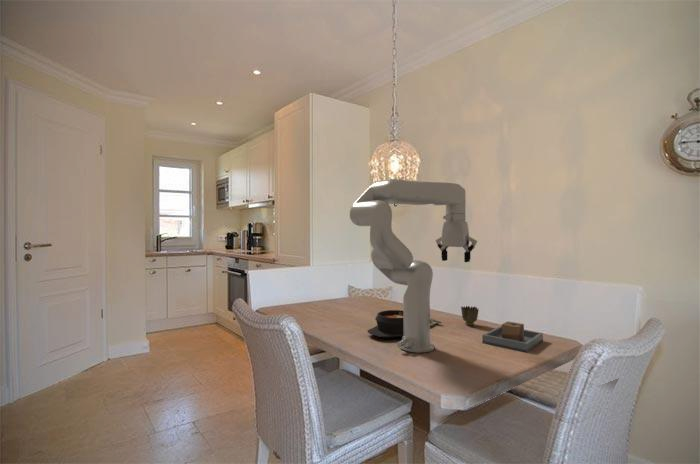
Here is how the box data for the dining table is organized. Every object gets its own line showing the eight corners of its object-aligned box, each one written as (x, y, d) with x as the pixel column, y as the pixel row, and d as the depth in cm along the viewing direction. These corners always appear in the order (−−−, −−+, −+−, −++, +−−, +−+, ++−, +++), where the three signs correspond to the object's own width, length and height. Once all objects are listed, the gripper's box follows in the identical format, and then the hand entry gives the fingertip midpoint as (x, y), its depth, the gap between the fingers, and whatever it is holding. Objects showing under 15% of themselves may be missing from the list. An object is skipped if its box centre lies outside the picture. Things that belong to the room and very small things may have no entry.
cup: (480, 327, 160) (480, 309, 160) (464, 327, 160) (464, 309, 160) (475, 323, 167) (475, 305, 167) (459, 323, 167) (459, 305, 167)
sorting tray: (527, 352, 127) (527, 343, 127) (482, 342, 138) (482, 334, 138) (542, 341, 140) (542, 333, 140) (500, 333, 151) (500, 325, 151)
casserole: (402, 324, 165) (402, 306, 165) (433, 334, 150) (433, 313, 150) (357, 334, 150) (357, 313, 150) (387, 345, 135) (387, 323, 135)
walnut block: (518, 343, 135) (518, 326, 135) (501, 339, 139) (501, 324, 139) (523, 339, 139) (523, 323, 139) (507, 336, 143) (507, 321, 143)
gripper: (431, 218, 149) (431, 260, 149) (472, 217, 137) (472, 263, 137) (441, 219, 154) (441, 259, 154) (480, 218, 142) (480, 261, 142)
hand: (455, 261), depth 145 cm, fingers open, 9 cm apart
